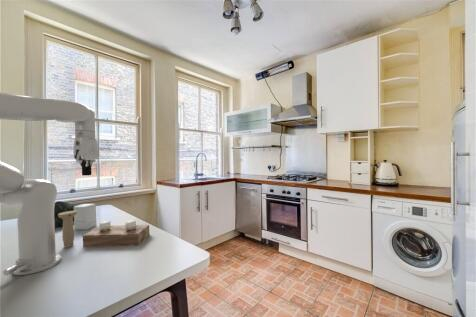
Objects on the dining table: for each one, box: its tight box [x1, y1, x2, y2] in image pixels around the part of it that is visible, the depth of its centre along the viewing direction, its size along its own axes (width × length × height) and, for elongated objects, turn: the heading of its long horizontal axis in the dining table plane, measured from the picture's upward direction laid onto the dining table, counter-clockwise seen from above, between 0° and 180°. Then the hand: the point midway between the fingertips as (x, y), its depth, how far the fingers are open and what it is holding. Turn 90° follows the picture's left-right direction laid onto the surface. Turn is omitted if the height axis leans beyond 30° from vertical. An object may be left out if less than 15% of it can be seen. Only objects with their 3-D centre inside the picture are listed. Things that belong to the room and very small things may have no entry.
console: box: [82, 224, 150, 248], centre depth 95 cm, size 12×24×5 cm, turn 91°
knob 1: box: [98, 220, 112, 231], centre depth 95 cm, size 4×4×8 cm
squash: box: [54, 200, 76, 228], centre depth 119 cm, size 14×15×15 cm
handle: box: [58, 211, 77, 248], centre depth 90 cm, size 5×6×15 cm
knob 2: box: [124, 219, 137, 231], centre depth 95 cm, size 4×4×8 cm
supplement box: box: [73, 203, 98, 231], centre depth 114 cm, size 7×7×13 cm
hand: (86, 175), depth 94 cm, fingers closed
